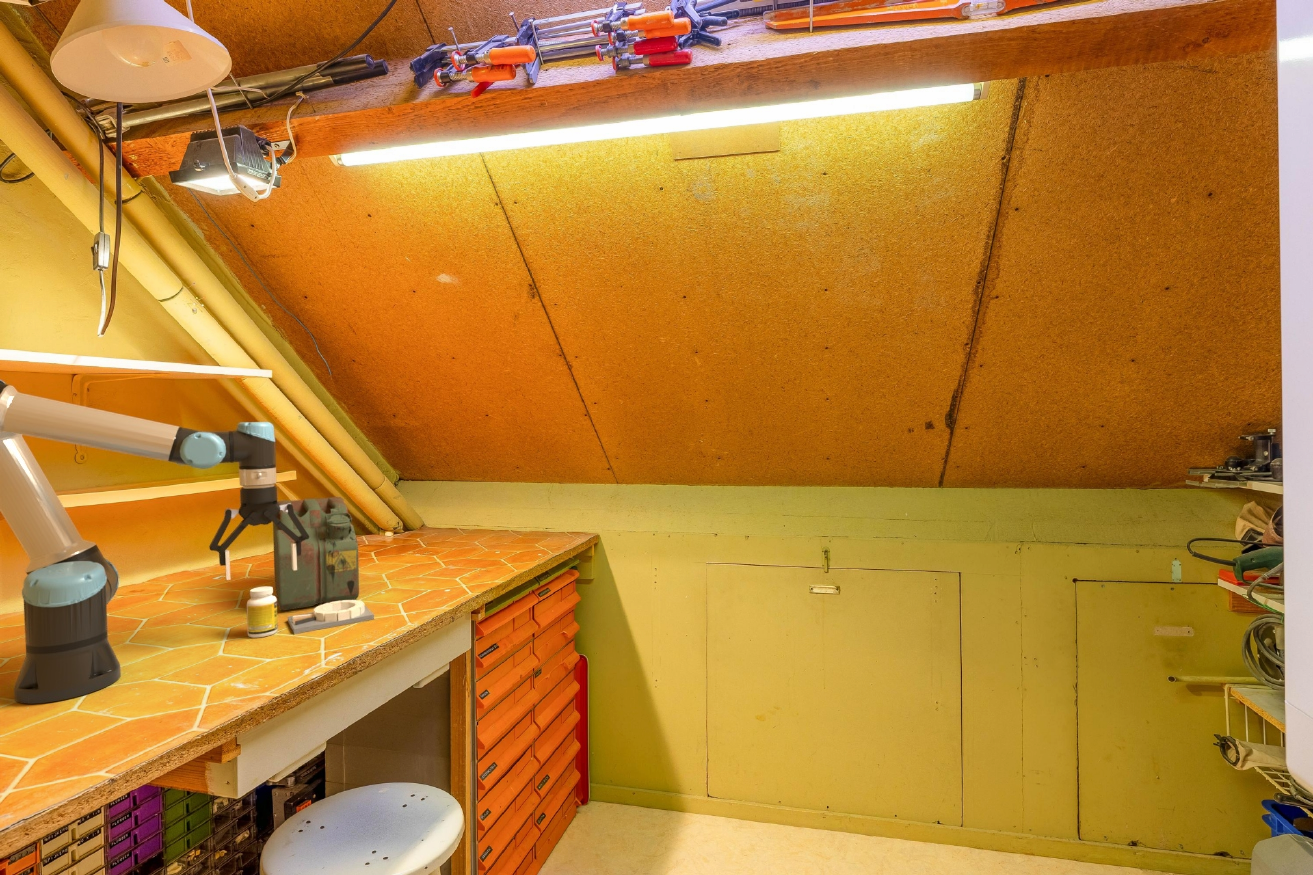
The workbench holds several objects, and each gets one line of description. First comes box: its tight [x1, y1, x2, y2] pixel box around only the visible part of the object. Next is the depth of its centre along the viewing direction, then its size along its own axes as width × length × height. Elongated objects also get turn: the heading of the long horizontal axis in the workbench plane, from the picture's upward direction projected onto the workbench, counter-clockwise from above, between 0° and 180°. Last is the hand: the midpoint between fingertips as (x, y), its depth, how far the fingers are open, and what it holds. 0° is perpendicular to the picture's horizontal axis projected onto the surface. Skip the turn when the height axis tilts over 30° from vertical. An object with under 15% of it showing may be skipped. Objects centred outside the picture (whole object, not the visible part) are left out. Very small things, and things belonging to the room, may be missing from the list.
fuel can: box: [272, 496, 360, 611], centre depth 186 cm, size 19×35×27 cm, turn 33°
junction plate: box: [287, 599, 375, 635], centre depth 162 cm, size 18×12×3 cm, turn 127°
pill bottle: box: [246, 586, 279, 639], centre depth 152 cm, size 6×6×11 cm
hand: (262, 573), depth 151 cm, fingers open, 13 cm apart
